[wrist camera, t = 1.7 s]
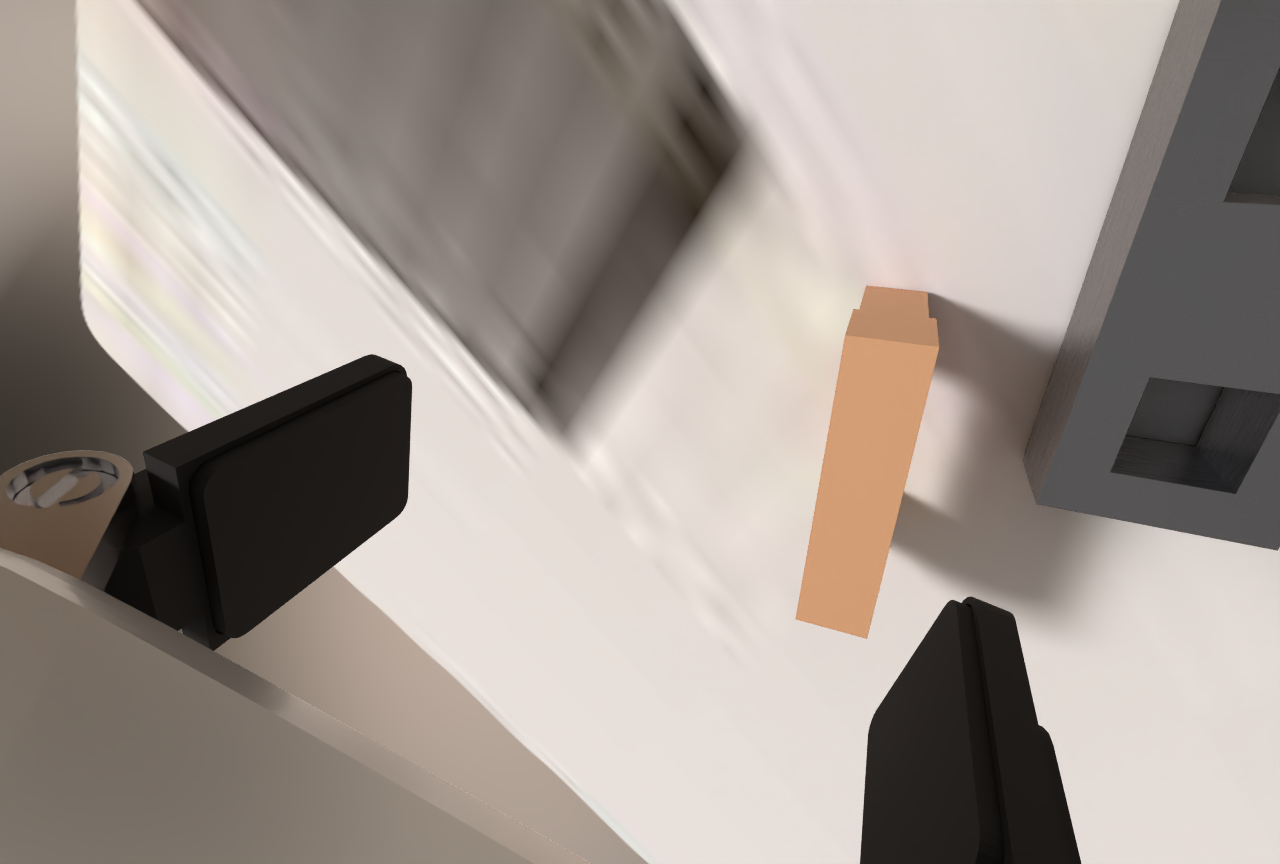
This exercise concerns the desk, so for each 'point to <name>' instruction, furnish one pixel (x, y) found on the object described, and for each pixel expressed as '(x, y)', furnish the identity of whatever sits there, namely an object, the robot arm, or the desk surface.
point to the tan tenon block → (867, 456)
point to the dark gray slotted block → (1179, 302)
